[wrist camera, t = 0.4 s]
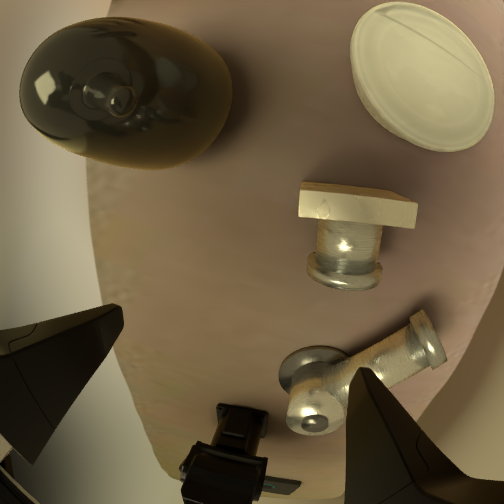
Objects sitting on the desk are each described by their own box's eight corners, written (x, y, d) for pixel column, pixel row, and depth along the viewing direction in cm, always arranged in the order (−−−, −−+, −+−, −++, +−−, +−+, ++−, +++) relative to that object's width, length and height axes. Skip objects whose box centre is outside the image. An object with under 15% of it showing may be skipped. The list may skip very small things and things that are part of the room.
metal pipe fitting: (344, 398, 26) (346, 440, 21) (276, 393, 28) (268, 434, 22) (395, 191, 19) (425, 204, 13) (295, 180, 20) (290, 189, 14)
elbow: (308, 398, 27) (305, 444, 21) (281, 371, 26) (272, 419, 20) (433, 336, 21) (454, 379, 15) (416, 298, 20) (442, 341, 15)
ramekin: (441, 34, 12) (467, 13, 8) (472, 150, 16) (508, 153, 11) (325, 29, 15) (329, -3, 10) (358, 156, 18) (375, 156, 14)
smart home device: (288, 495, 38) (196, 475, 41) (289, 489, 40) (199, 469, 42) (301, 486, 35) (197, 463, 37) (302, 478, 37) (200, 456, 39)
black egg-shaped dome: (209, 189, 22) (62, 250, 7) (119, 139, 21) (-27, 152, 7) (271, 80, 18) (198, -43, 4) (168, 42, 17) (41, -22, 3)
